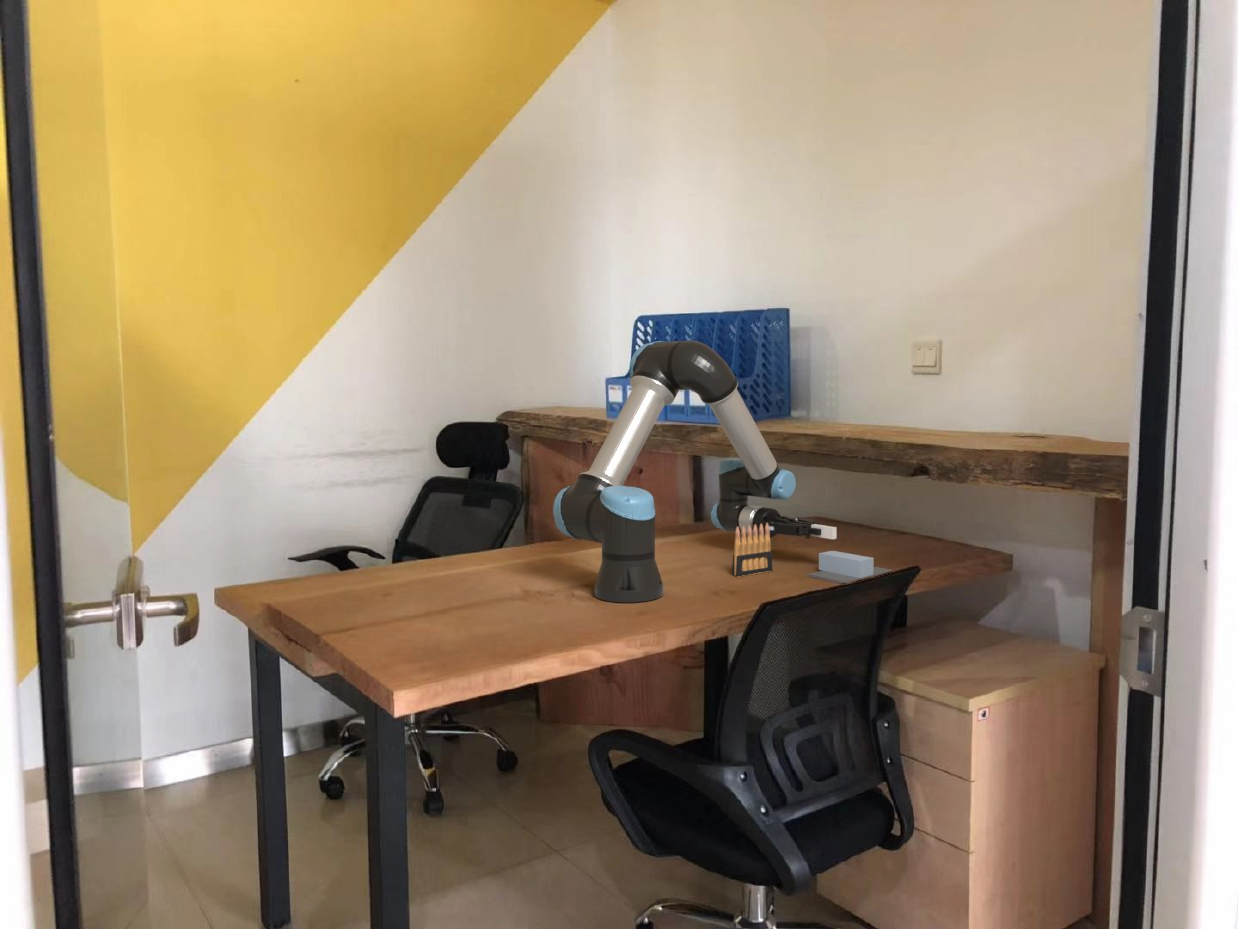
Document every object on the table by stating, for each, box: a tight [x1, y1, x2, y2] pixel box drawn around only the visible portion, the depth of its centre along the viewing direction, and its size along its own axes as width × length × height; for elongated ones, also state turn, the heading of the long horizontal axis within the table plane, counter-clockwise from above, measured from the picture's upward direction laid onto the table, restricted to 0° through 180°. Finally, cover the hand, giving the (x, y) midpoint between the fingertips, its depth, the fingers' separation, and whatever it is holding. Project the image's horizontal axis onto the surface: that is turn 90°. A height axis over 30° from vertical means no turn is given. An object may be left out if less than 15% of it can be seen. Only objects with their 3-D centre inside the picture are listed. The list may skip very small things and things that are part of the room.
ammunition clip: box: [731, 523, 773, 577], centre depth 226 cm, size 11×2×12 cm, turn 119°
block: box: [818, 550, 875, 578], centre depth 223 cm, size 5×4×12 cm
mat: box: [807, 565, 893, 584], centre depth 224 cm, size 18×11×1 cm, turn 129°
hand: (834, 533), depth 225 cm, fingers closed
